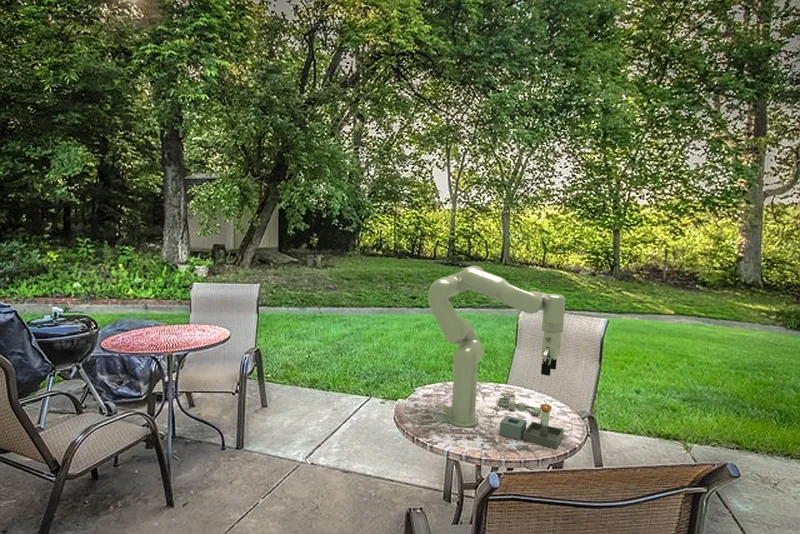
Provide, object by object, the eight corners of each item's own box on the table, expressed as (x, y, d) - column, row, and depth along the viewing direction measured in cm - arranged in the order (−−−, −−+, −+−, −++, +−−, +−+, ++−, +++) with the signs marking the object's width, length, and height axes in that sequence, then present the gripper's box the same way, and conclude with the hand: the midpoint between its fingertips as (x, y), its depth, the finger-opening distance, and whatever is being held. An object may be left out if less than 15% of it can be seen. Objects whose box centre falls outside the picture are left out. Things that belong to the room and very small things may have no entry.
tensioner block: (499, 434, 178) (500, 421, 177) (505, 427, 185) (506, 415, 184) (519, 440, 174) (520, 427, 173) (525, 432, 181) (526, 420, 180)
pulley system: (516, 421, 194) (545, 416, 199) (516, 410, 194) (546, 405, 199) (482, 399, 220) (510, 395, 225) (482, 390, 219) (510, 386, 224)
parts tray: (522, 440, 174) (523, 432, 174) (531, 428, 185) (532, 421, 184) (556, 449, 168) (557, 441, 168) (563, 437, 178) (563, 429, 178)
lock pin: (536, 437, 175) (539, 406, 174) (539, 433, 179) (541, 403, 178) (547, 440, 173) (550, 409, 172) (549, 436, 177) (552, 405, 176)
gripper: (557, 332, 163) (553, 379, 165) (567, 325, 178) (563, 368, 180) (536, 329, 167) (532, 375, 169) (547, 322, 182) (543, 364, 184)
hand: (548, 371), depth 174 cm, fingers open, 9 cm apart
